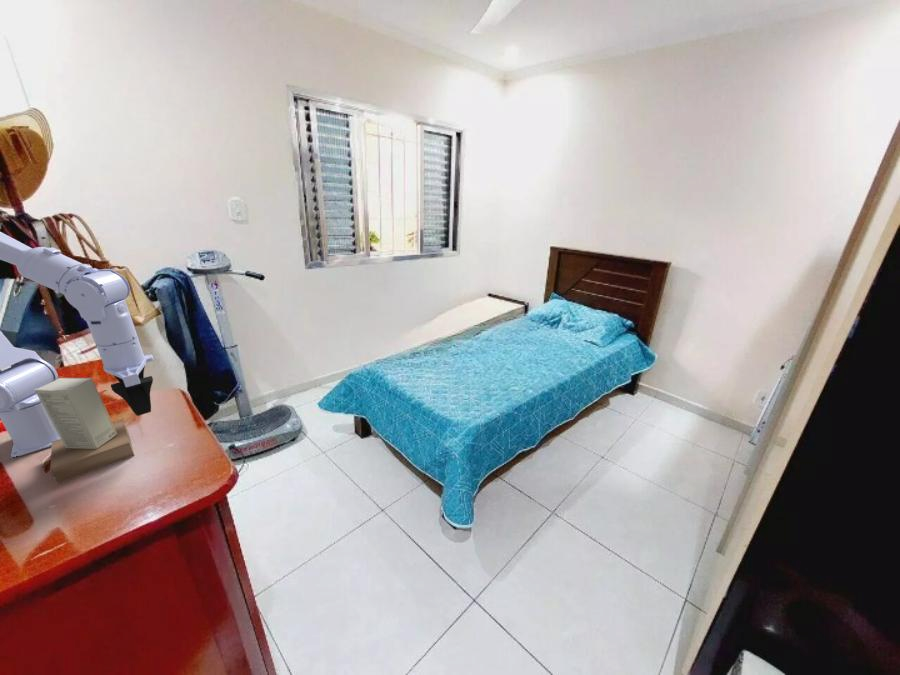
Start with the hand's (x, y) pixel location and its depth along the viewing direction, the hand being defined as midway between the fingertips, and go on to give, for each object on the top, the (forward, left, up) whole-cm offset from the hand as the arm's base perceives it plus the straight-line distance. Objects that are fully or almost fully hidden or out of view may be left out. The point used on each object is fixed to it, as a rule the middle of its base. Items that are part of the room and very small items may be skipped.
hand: (141, 405), depth 69 cm
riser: (0, -8, -7) cm, 11 cm away
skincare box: (0, -8, -4) cm, 9 cm away
